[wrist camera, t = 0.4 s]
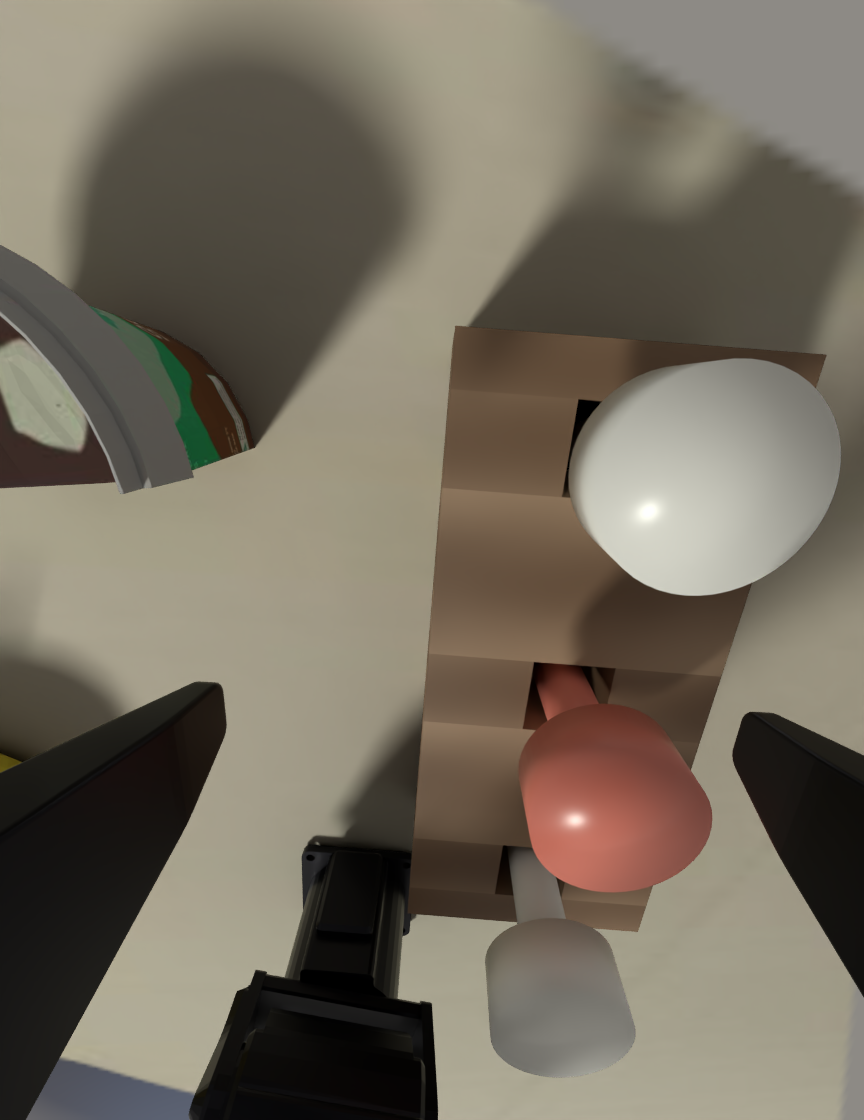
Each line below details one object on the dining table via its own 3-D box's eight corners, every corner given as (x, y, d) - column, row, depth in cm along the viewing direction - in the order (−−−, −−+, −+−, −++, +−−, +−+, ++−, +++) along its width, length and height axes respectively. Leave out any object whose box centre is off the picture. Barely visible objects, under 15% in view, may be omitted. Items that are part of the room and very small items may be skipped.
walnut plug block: (595, 814, 26) (637, 931, 20) (415, 800, 26) (407, 913, 20) (708, 367, 18) (826, 354, 13) (452, 347, 18) (455, 325, 13)
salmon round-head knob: (596, 711, 20) (686, 898, 12) (491, 702, 20) (518, 885, 12) (618, 616, 18) (734, 765, 11) (504, 607, 18) (544, 750, 11)
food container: (264, 279, 18) (58, 147, 8) (289, 446, 20) (147, 493, 10) (-47, 300, 18) (-576, 198, 9) (9, 460, 20) (-372, 517, 11)
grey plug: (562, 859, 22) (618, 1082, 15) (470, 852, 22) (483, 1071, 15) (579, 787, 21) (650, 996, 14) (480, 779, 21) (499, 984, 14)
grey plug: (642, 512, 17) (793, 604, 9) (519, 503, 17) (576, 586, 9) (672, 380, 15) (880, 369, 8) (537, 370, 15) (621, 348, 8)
